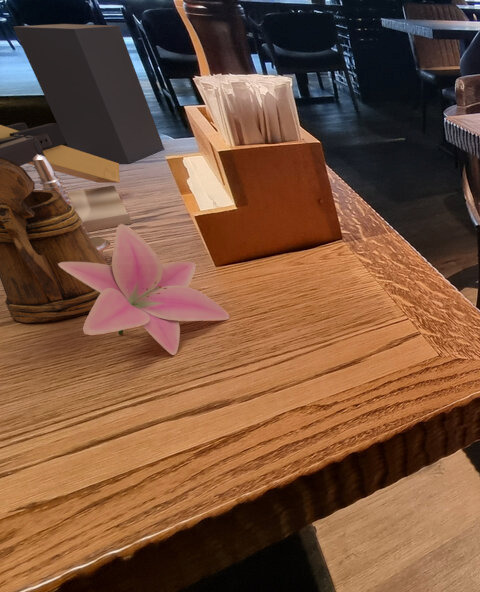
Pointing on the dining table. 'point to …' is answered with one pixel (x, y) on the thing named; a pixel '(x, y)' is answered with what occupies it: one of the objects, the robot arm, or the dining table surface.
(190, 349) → the dining table surface
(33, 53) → the pedestal
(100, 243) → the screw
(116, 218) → the board
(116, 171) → the yellow bar
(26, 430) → the dining table surface
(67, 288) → the wooden mug
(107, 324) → the lily
